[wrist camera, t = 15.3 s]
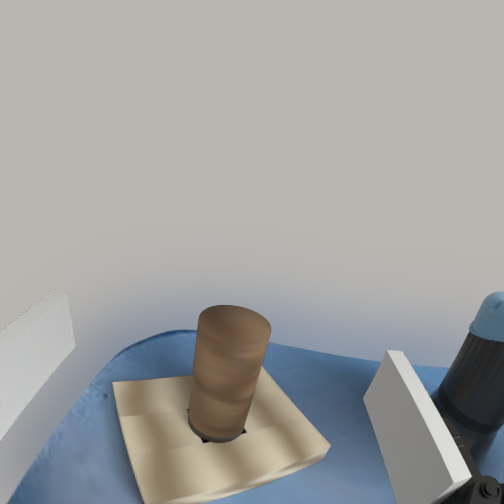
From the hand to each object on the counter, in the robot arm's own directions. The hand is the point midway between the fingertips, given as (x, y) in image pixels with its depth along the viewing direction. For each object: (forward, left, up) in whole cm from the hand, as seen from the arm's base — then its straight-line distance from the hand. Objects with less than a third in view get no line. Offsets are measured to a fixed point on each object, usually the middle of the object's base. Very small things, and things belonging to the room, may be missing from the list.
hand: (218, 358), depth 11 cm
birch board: (-7, -10, -21) cm, 25 cm away
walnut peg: (-7, -10, -21) cm, 24 cm away
